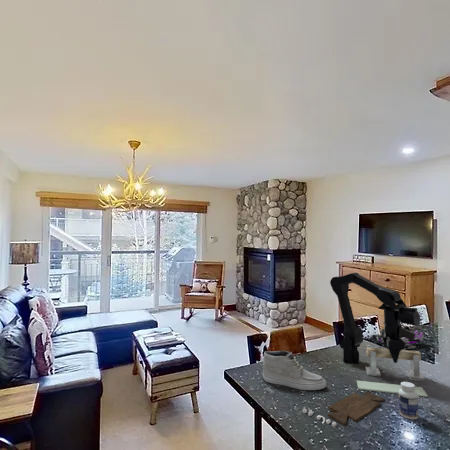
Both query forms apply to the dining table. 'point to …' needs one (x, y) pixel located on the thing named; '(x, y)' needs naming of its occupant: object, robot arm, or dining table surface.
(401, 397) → the pill bottle
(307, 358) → the dining table surface
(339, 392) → the dining table surface
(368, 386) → the mat
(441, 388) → the dining table surface
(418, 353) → the rail
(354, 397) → the brown notched wooden board
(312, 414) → the figurines set
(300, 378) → the chukka sneaker
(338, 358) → the dining table surface
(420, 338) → the figurine
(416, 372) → the hook standards
